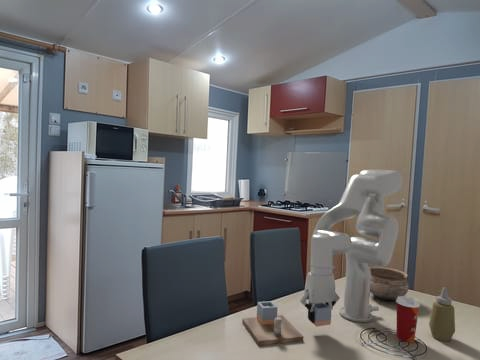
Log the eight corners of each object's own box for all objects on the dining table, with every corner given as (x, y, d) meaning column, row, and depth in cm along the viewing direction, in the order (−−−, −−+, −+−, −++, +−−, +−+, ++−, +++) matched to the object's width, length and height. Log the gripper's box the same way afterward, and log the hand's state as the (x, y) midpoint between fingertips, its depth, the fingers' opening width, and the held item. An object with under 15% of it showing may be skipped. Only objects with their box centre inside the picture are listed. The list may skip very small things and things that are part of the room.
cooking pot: (351, 289, 170) (352, 265, 169) (382, 287, 175) (384, 264, 175) (387, 310, 146) (389, 281, 145) (422, 307, 152) (424, 279, 151)
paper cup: (420, 345, 116) (423, 304, 116) (396, 342, 118) (399, 301, 117) (413, 335, 124) (416, 296, 124) (391, 331, 126) (393, 294, 125)
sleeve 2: (322, 317, 125) (322, 301, 124) (330, 324, 119) (331, 307, 119) (308, 319, 123) (308, 302, 123) (316, 326, 118) (316, 309, 117)
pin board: (282, 318, 131) (283, 302, 131) (303, 340, 115) (304, 321, 115) (242, 322, 127) (243, 304, 126) (258, 345, 110) (259, 325, 110)
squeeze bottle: (454, 345, 118) (458, 293, 117) (427, 338, 122) (431, 288, 121) (454, 336, 125) (458, 287, 124) (429, 330, 129) (432, 282, 128)
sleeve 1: (270, 316, 129) (271, 301, 129) (276, 323, 124) (277, 307, 124) (256, 318, 127) (257, 302, 127) (261, 324, 122) (262, 308, 122)
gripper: (336, 264, 126) (334, 312, 127) (294, 268, 121) (292, 318, 122) (348, 271, 119) (346, 322, 120) (304, 275, 114) (302, 328, 115)
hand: (319, 319), depth 121 cm, fingers closed on sleeve 2, 5 cm apart
